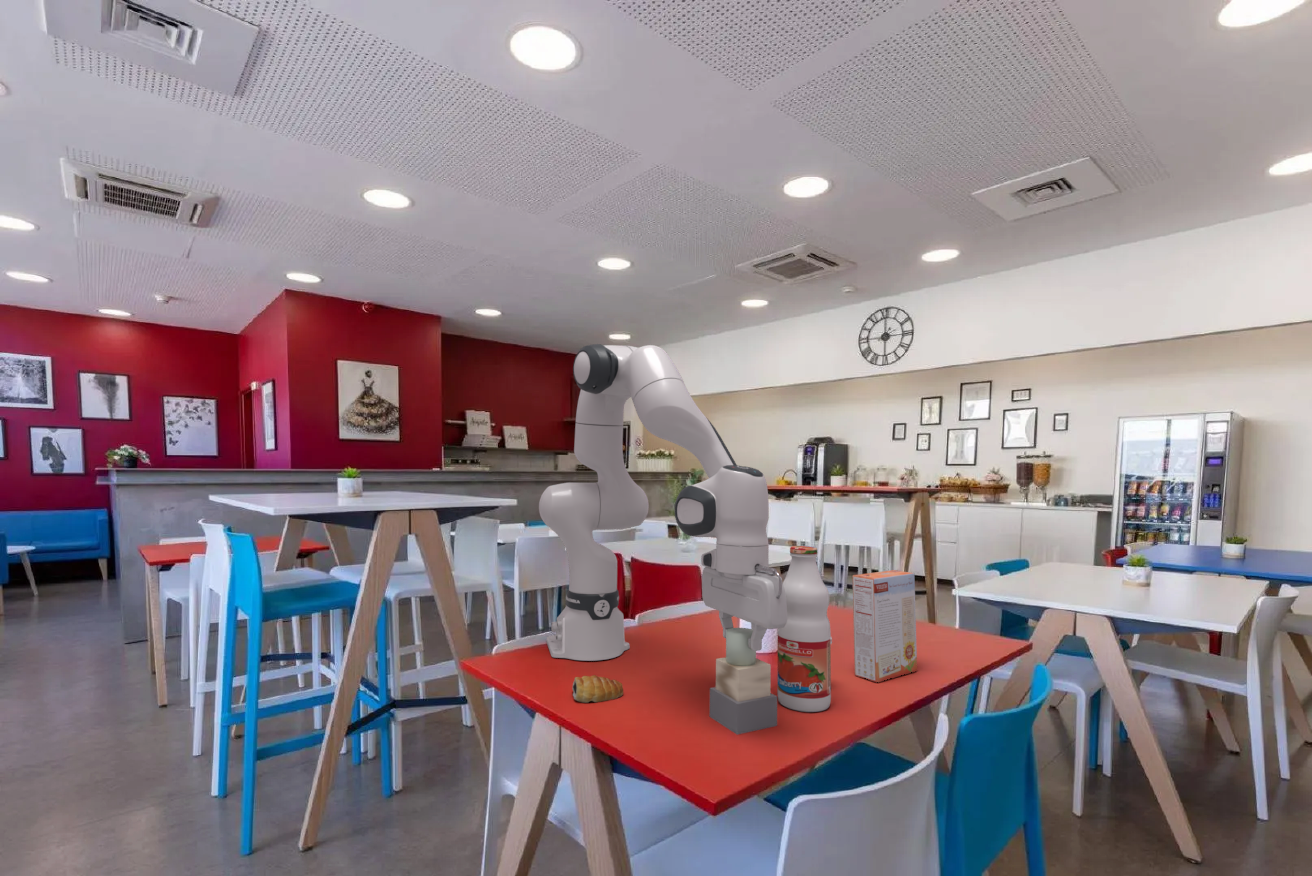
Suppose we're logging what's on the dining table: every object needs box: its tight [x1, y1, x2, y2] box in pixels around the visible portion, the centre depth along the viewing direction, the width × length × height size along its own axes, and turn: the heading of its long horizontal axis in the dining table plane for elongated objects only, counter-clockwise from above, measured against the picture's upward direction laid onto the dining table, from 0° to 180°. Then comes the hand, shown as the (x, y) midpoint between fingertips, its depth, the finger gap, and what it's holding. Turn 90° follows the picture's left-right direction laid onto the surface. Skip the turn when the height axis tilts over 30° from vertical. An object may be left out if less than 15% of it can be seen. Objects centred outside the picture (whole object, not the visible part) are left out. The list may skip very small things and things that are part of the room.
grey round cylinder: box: [725, 627, 757, 666], centre depth 101 cm, size 5×5×5 cm
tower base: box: [709, 686, 778, 736], centre depth 100 cm, size 8×8×5 cm
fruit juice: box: [776, 545, 832, 713], centre depth 109 cm, size 9×9×28 cm
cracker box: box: [852, 569, 918, 683], centre depth 126 cm, size 14×6×21 cm, turn 123°
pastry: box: [572, 674, 624, 704], centre depth 111 cm, size 9×7×4 cm
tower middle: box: [715, 656, 772, 702], centre depth 100 cm, size 6×6×5 cm
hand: (741, 644), depth 101 cm, fingers open, 6 cm apart
